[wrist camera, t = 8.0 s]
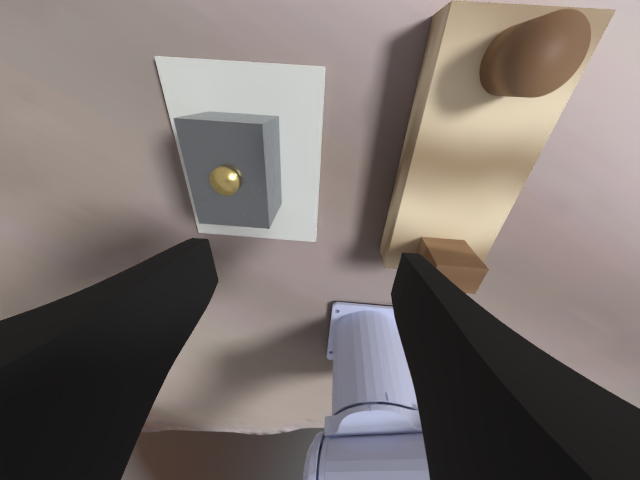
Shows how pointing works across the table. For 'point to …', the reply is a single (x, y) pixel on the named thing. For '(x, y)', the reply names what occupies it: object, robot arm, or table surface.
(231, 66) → the felt mat
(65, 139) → the table surface
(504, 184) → the body
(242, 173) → the lever cap
